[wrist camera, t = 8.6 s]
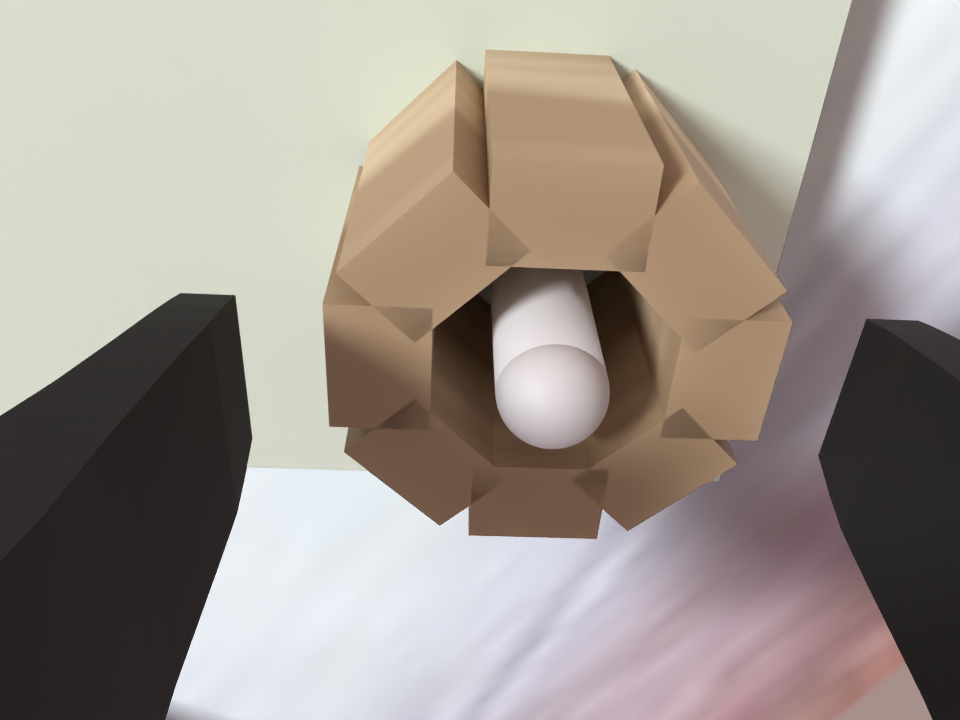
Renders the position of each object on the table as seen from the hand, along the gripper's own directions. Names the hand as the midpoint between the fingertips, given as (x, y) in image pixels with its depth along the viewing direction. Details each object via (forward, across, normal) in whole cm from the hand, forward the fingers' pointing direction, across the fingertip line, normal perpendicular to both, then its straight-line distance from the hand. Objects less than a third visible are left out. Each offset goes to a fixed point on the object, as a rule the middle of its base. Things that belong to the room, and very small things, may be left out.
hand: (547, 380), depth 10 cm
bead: (+4, 0, 0) cm, 4 cm away
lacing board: (+5, +4, 0) cm, 7 cm away
